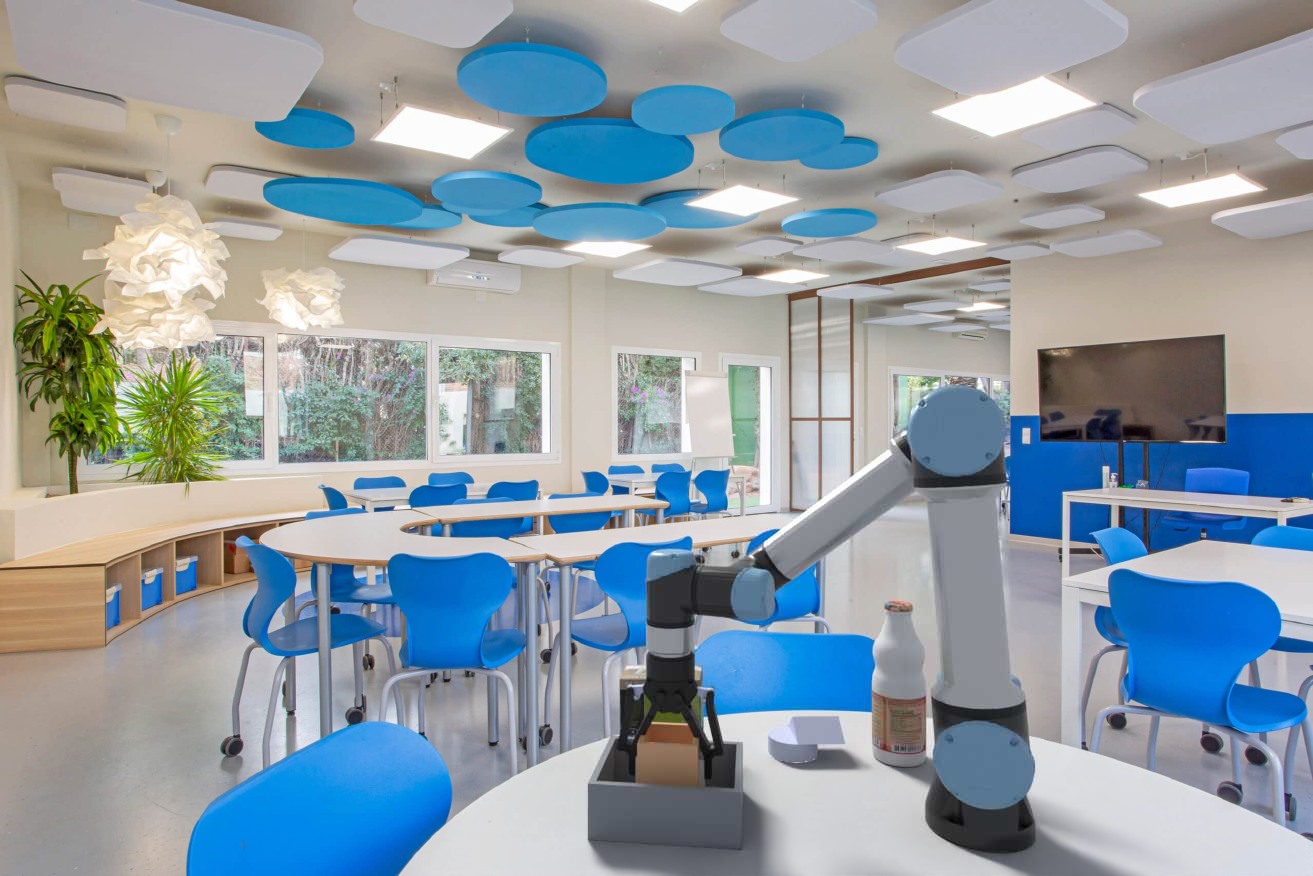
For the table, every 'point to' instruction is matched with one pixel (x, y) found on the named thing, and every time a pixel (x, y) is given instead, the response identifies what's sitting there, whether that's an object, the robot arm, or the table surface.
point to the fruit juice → (899, 690)
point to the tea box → (643, 704)
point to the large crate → (667, 804)
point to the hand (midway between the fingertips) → (670, 797)
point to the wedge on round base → (804, 737)
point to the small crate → (668, 755)
